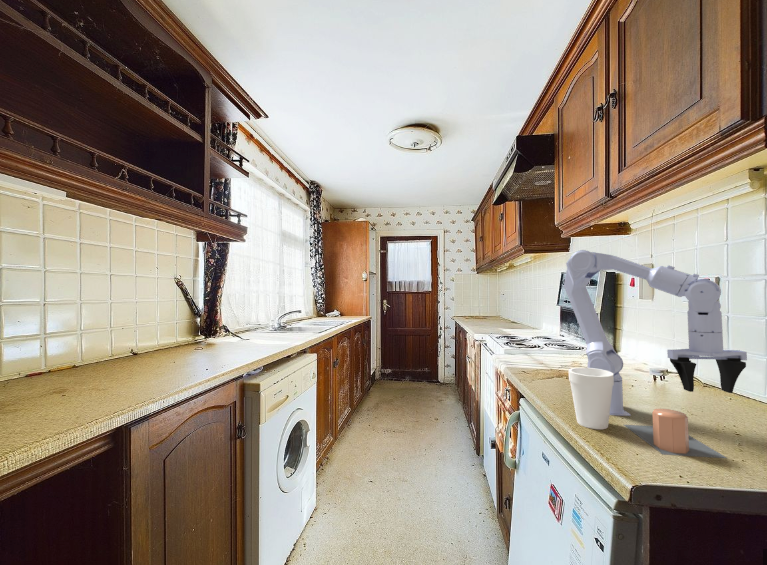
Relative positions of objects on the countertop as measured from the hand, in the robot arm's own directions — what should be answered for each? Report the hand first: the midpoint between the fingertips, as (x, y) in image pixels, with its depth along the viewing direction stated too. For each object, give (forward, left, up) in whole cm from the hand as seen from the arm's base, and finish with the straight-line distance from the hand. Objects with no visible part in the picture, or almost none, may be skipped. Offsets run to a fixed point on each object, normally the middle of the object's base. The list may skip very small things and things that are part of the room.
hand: (707, 391), depth 77 cm
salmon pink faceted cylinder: (+10, -14, -9) cm, 19 cm away
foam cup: (-1, -24, -10) cm, 26 cm away
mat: (+6, -12, -9) cm, 16 cm away
